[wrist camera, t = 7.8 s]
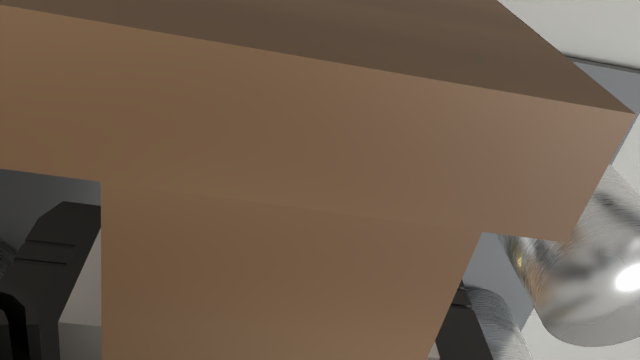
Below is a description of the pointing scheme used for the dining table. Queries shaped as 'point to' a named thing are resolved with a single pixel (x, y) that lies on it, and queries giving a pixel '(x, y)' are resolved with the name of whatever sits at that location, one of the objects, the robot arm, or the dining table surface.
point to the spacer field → (563, 277)
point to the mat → (482, 271)
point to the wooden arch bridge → (298, 161)
